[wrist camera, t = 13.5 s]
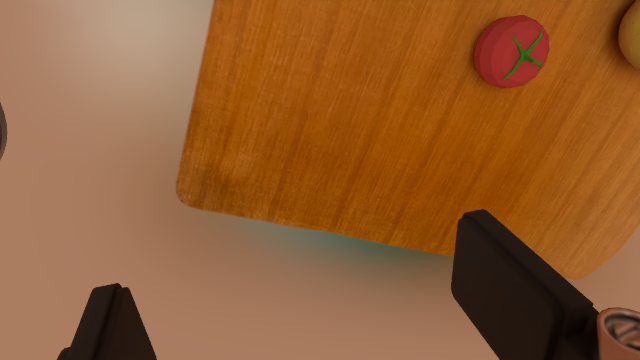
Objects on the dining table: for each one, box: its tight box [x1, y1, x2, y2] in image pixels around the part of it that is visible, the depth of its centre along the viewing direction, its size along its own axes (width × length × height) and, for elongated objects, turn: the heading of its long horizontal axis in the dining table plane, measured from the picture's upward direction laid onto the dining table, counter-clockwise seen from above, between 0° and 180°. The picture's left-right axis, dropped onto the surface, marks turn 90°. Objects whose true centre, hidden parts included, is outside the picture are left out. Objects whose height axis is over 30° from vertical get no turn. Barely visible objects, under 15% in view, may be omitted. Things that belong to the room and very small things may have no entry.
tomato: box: [474, 15, 549, 88], centre depth 45 cm, size 8×8×8 cm
